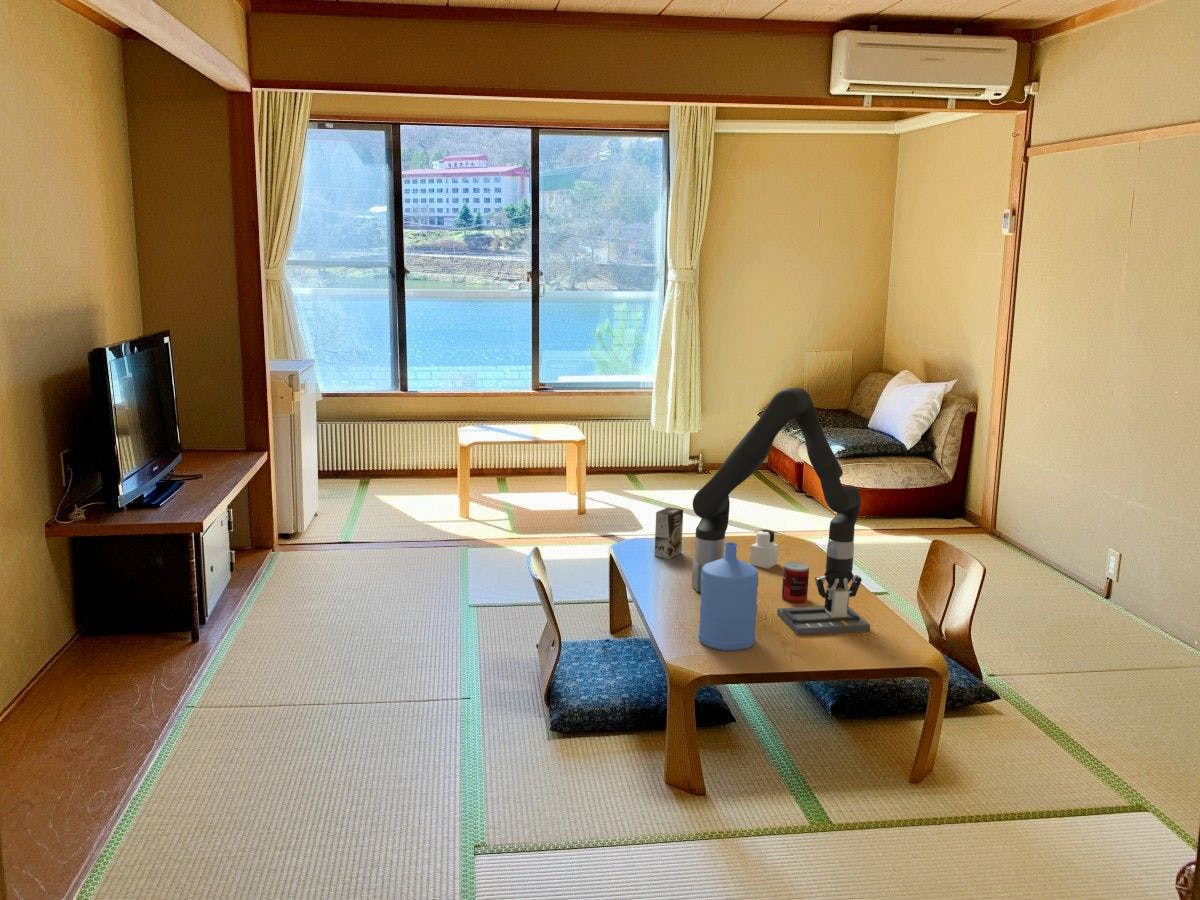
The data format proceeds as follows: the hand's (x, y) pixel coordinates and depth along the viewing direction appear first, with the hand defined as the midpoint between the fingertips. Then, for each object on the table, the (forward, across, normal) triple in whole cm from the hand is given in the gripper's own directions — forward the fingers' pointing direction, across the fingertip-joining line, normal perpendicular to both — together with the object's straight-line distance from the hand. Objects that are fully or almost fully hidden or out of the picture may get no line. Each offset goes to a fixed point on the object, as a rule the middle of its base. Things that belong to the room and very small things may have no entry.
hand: (836, 609), depth 295 cm
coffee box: (+4, -33, +69) cm, 77 cm away
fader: (+1, 0, 0) cm, 1 cm away
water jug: (+4, -36, -9) cm, 37 cm away
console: (+4, -4, 0) cm, 5 cm away
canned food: (+4, -5, +20) cm, 21 cm away
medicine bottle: (+4, -3, +54) cm, 54 cm away
